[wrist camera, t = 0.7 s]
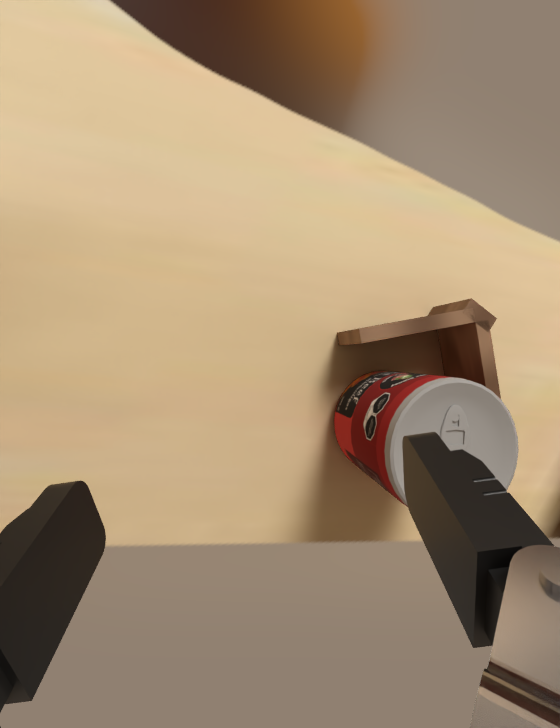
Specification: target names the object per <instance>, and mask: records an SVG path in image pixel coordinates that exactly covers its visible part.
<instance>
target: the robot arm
mask: <svg viewBox="0 0 560 728" xmlns="http://www.w3.org/2000/svg"><path fill="white" fill-rule="evenodd" d="M402 449H403V473H404V491H405V497H406V501H407V505H408V508H409V511H410V514H411V516H412V518H413V520H414V522H415V524H416V527H417V529H418V531H419V533H420V535H421V537H422V539H423V541H424V544H425V546H426V548H427V550H428V552H429V554H430V556H431V558H432V561H433V563H434V565H435V567H436V569H437V571H438V574H439V576H440V578H441V580H442V582H443V584H444V586H445V589H446V591H447V593H448V595H449V597H450V599H451V601H452V604H453V606H454V608H455V610H456V612H457V614H458V616H459V619H460V621H461V623H462V625H463V627H464V629H465V631H466V634H467V636H468V638H469V640H470V642H471V644H472V646H473V648H476V647H484V646H492V651H491V655H490V660H489V664H488V667H487V669H484V671H483V674H482V677H481V681H480V685H479V689H478V693H477V698H476V702H475V707H474V711H473V715H472V720H471V724H470V728H560V548H559V547H556V546H554V545H553V544H552V543H551V541H550V540H549V539H548V538H547V537H546V536H545V534H544V533H543V532H542V531H541V530H540V528H539V527H538V526H537V525H536V524H535V523H534V521H533V520H532V519H531V518H530V517H529V516H528V514H527V513H526V512H525V511H524V510H523V509H522V507H521V506H520V505H519V504H518V503H517V501H516V500H515V499H514V498H513V497H512V496H511V494H510V493H507V491H506V489H505V487H504V486H503V485H502V484H501V483H500V481H499V480H498V479H495V476H494V474H493V473H492V472H491V471H490V470H489V469H488V467H487V466H486V465H485V464H484V463H483V462H482V461H481V460H480V459H478V458H476V457H475V456H473V455H471V454H469V453H468V452H466V451H464V450H463V449H460V450H453V451H450V450H449V448H448V447H447V446H446V444H445V443H444V442H443V440H442V439H441V438H440V436H439V435H438V434H437V433H436V432H429V433H422V434H414V435H407V436H404V437H403V440H402ZM105 541H106V535H105V529H104V526H103V523H102V521H101V518H100V516H99V513H98V511H97V508H96V505H95V503H94V500H93V498H92V495H91V493H90V490H89V488H88V486H87V484H86V483H85V482H83V481H75V482H68V483H61V484H54V485H50V486H48V487H47V488H46V489H45V490H44V491H43V492H42V493H41V495H40V496H39V497H38V498H37V500H36V501H35V502H34V503H33V505H32V506H31V507H30V508H29V509H27V510H26V511H25V512H23V513H22V514H21V515H19V516H18V517H17V518H16V519H14V520H13V521H12V522H11V523H9V524H8V525H7V526H6V527H5V528H4V529H3V531H2V532H1V533H0V712H1V710H2V708H3V706H4V704H10V703H18V702H26V701H32V699H33V697H34V695H35V693H36V691H37V689H38V687H39V685H40V683H41V680H42V679H43V676H44V674H45V672H46V670H47V668H48V666H49V664H50V662H51V660H52V658H53V656H54V654H55V652H56V650H57V648H58V646H59V643H60V641H61V639H62V637H63V635H64V633H65V631H66V629H67V627H68V625H69V623H70V621H71V619H72V617H73V615H74V612H75V610H76V608H77V606H78V604H79V602H80V600H81V598H82V596H83V594H84V592H85V590H86V588H87V585H88V583H89V581H90V579H91V577H92V575H93V573H94V571H95V569H96V567H97V565H98V563H99V561H100V559H101V556H102V554H103V552H104V548H105ZM0 728H1V727H0Z"/></svg>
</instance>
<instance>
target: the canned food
mask: <svg viewBox="0 0 560 728" xmlns="http://www.w3.org/2000/svg"><path fill="white" fill-rule="evenodd" d="M334 425H335V434H336V438H337V441H338V444H339V446H340V448H341V450H342V451H343V453H344V454H345V455H346V457H347V458H348V459H349V460H350V461H352V462H353V463H354V464H355V465H356V466H358V467H359V468H360V469H361V470H362V471H364V472H365V473H366V474H367V475H369V476H370V477H371V478H372V479H373V480H375V481H376V482H377V483H378V484H380V485H381V486H382V487H383V488H384V489H386V490H387V491H388V492H389V493H391V494H392V495H393V496H394V497H395V498H397V499H398V500H399V501H400V502H402V503H403V504H404V505H406V506H407V507H408V505H407V501H406V497H405V491H404V473H403V449H402V440H403V437H404V436H407V435H414V434H422V433H429V432H436V433H437V434H438V435H439V436H440V438H441V439H442V440H443V442H444V443H445V444H446V446H447V447H448V448H449V450H450V451H453V450H460V449H463V450H464V451H466V452H468V453H469V454H471V455H473V456H475V457H476V458H478V459H480V460H481V461H482V462H483V463H484V464H485V465H486V466H487V467H488V469H489V470H490V471H491V472H492V473H493V474H494V476H495V479H498V480H499V481H500V483H501V484H502V485H503V486H504V487H505V489H506V491H507V489H508V487H509V485H510V483H511V481H512V479H513V476H514V472H515V469H516V465H517V457H518V437H517V432H516V428H515V424H514V421H513V419H512V417H511V415H510V412H509V410H508V409H507V407H506V406H505V405H504V403H503V402H502V400H501V399H500V398H499V397H498V396H497V395H496V394H495V393H494V392H493V391H491V390H489V389H488V388H486V387H485V386H483V385H481V384H478V383H476V382H473V381H470V380H466V379H462V378H454V377H446V376H437V375H425V374H413V373H401V372H389V371H376V372H371V373H368V374H365V375H363V376H361V377H359V378H357V379H356V380H355V381H354V382H352V383H351V384H350V385H349V386H348V387H347V388H346V390H345V391H344V392H343V393H342V395H341V397H340V399H339V401H338V403H337V407H336V410H335V417H334Z"/></svg>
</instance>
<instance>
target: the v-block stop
mask: <svg viewBox="0 0 560 728" xmlns="http://www.w3.org/2000/svg"><path fill="white" fill-rule="evenodd" d="M496 319H497V318H496V317H494V316H493V315H492V314H491V313H489V312H488V311H487V310H485V309H484V308H483V307H482V306H480V305H479V304H478V303H477V302H475V301H474V300H473V299H467V300H463V301H459V302H454V303H450V304H445V305H441V306H436V307H433V308H432V310H431V312H430V313H429V315H428V316H426V317H420V318H415V319H409V320H404V321H398V322H393V323H387V324H382V325H376V326H371V327H365V328H360V329H355V330H349V331H344V332H339V333H337V335H338V341H339V345H348V344H360V343H366V342H372V341H377V340H382V339H388V338H393V337H398V336H404V335H409V334H414V333H420V332H425V331H430V330H436V329H437V330H438V336H439V343H440V349H441V355H442V361H443V367H444V373H445V376H446V377H454V378H462V379H466V380H470V381H473V382H476V383H478V384H481V385H483V386H485V387H486V388H488V389H489V390H491V391H493V392H494V393H495V394H496V395H497V396H498V397H499V398H500V399H501V397H500V390H499V384H498V377H497V371H496V365H495V358H494V352H493V345H492V339H491V332H490V329H491V327H492V325H493V324H494V322H495V321H496Z"/></svg>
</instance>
